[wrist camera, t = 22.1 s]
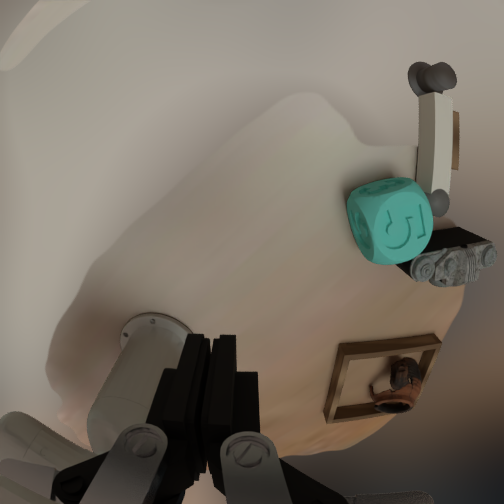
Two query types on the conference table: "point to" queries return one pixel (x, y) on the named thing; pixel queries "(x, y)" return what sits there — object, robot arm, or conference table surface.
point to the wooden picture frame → (373, 350)
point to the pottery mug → (400, 388)
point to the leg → (435, 150)
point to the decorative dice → (390, 220)
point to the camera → (451, 258)
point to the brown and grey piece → (436, 80)
